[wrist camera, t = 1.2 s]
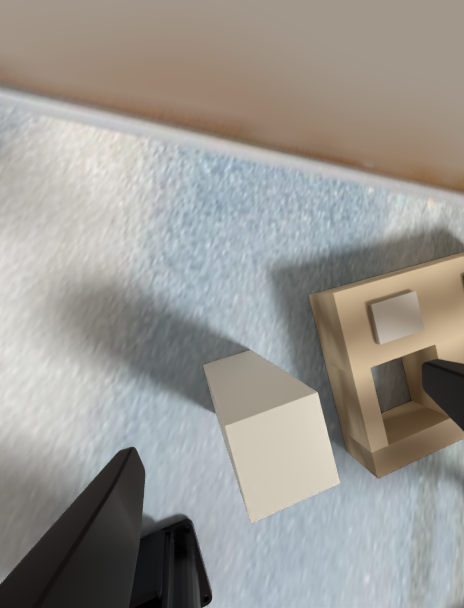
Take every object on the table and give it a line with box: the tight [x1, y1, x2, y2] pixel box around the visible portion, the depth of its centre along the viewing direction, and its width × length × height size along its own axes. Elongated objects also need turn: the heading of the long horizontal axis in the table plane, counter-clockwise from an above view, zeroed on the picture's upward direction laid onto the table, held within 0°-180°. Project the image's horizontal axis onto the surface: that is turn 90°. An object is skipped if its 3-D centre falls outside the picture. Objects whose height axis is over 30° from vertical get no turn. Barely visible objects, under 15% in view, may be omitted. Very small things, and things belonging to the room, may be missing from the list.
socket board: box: [309, 252, 464, 478], centre depth 21 cm, size 14×18×4 cm
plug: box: [203, 350, 340, 524], centre depth 15 cm, size 4×4×10 cm
